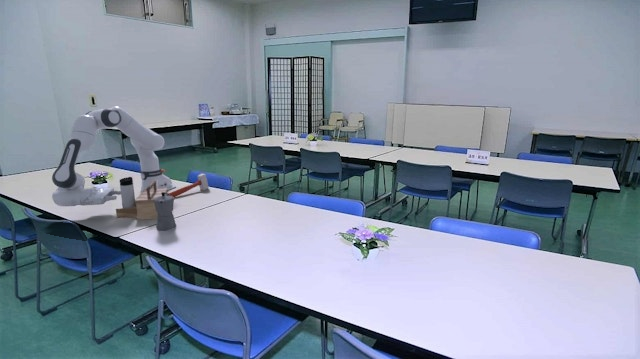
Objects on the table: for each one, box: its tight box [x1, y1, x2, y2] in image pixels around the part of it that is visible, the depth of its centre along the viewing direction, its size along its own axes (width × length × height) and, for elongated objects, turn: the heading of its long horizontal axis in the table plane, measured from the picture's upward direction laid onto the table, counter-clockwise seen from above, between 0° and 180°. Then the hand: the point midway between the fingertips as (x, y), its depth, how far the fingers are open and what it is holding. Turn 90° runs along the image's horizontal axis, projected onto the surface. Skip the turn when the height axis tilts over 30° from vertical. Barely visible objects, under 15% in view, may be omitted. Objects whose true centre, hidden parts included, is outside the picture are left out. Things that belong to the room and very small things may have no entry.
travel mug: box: [119, 176, 136, 208], centre depth 192 cm, size 6×7×20 cm
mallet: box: [167, 173, 209, 198], centre depth 234 cm, size 11×4×30 cm
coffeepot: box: [153, 192, 177, 232], centre depth 175 cm, size 15×9×18 cm, turn 13°
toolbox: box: [115, 180, 169, 221], centre depth 195 cm, size 23×23×16 cm
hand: (118, 195), depth 191 cm, fingers open, 8 cm apart
